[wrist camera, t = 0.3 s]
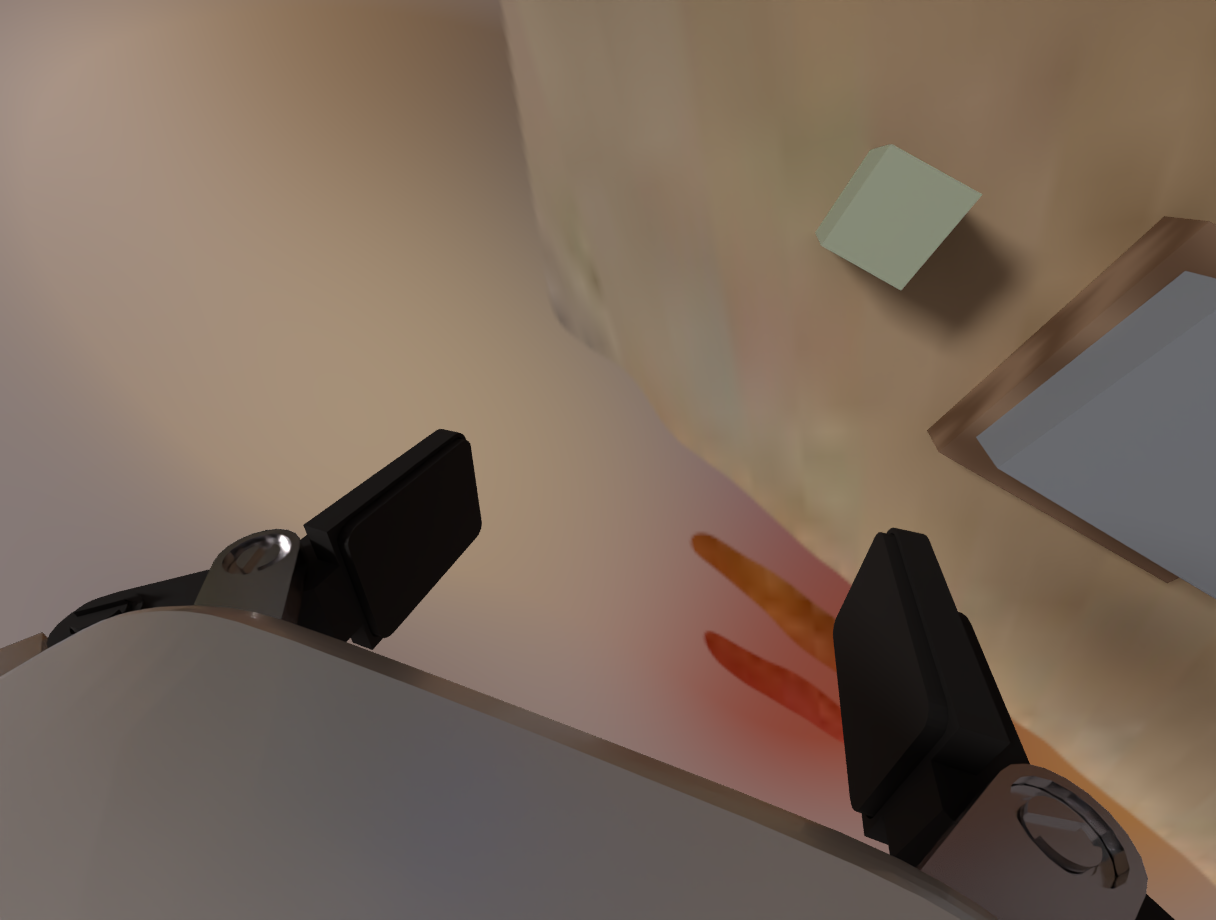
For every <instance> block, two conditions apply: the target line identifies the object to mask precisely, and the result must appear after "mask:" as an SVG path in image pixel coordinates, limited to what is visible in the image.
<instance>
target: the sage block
mask: <svg viewBox="0 0 1216 920" xmlns="http://www.w3.org/2000/svg"><path fill="white" fill-rule="evenodd" d="M981 196H982V194H981V193H979V192H977V191H975V190H973V189H972V188H970V187H968V186H966V185H964V184H963V183H961V182H959V181H957V180H955V179H954V178H952V177H950V176H948V175H946V174H945V173H943V172H941V171H939V170H937V169H936V168H934V167H932V166H930V165H928V164H927V163H925V162H923V161H921V160H919V159H918V158H916V157H914V156H912V155H910V154H909V153H907V152H905V151H903V150H901V149H900V148H898V147H896V146H894V145H892V144H889V145H885V146H882V147H879V148H875V149H872V150H870V151H869V153H868V154H867V156H866V157H865V159H864V160H863V162H862V163H861V165H860V166H859V168H858V169H857V171H856V172H855V174H854V175H853V177H852V178H851V180H850V181H849V183H848V184H847V186H846V187H845V189H844V190H843V192H842V193H841V195H840V196H839V198H838V199H837V201H836V202H835V204H834V205H833V207H832V208H831V210H830V211H829V213H828V214H827V216H826V217H825V219H824V220H823V222H822V223H821V225H820V226H819V228H818V229H817V231H816V232H815V233H816V235H817V237H818V240H819V242H820V244H821V246H823V247H825V248H826V249H828V250H830V251H832V252H833V253H835V254H837V255H839V256H841V257H842V258H844V259H846V260H848V261H849V262H851V263H853V264H855V265H856V266H858V267H860V268H862V269H864V270H865V271H867V272H869V273H871V274H872V275H874V276H876V277H878V278H879V279H881V280H883V281H885V282H887V283H888V284H890V285H892V286H894V287H895V288H897V289H899V290H902V289H903V288H904V287H905V285H906V284H907V283H908V282H909V281H910V279H911V278H912V277H913V276H914V275H915V274H916V272H917V271H918V270H919V269H920V268H921V266H922V265H923V264H924V263H925V262H926V261H927V259H928V258H929V257H930V256H931V255H932V253H933V252H934V251H935V250H936V249H937V248H938V246H939V245H940V244H941V243H942V242H943V240H944V239H945V238H946V237H947V236H948V235H949V233H950V232H951V231H952V230H953V229H954V228H955V226H956V225H957V224H958V223H959V222H960V220H961V219H962V218H963V217H964V216H965V215H966V213H967V212H968V211H969V210H970V209H971V207H972V206H973V205H974V204H975V203H976V202H977V200H978V199H979V198H980V197H981Z"/></svg>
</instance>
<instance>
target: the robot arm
mask: <svg viewBox="0 0 1216 920" xmlns="http://www.w3.org/2000/svg"><path fill="white" fill-rule="evenodd" d="M481 525H482V521H481V514H480V507H479V500H478V493H477V486H476V479H475V472H474V465H473V459H472V452H471V446H470V443H469V441H467V440H466V438H465V436H464V435H463V434H461V433H458V432H453V431H448V430H444V429H439V430H437V431H435V432H434V433H432V434H431V435H429V436H428V437H426V438H425V439H424V440H422V441H421V442H419V443H418V444H417V445H415V446H414V447H412V448H411V449H410V450H408V451H407V452H405V453H404V454H403V455H401V456H400V457H398V458H397V459H396V460H394V461H393V462H391V463H390V464H388V465H387V466H386V467H384V468H383V469H381V470H380V471H379V472H377V473H376V474H374V475H373V476H372V477H370V478H369V479H367V480H366V481H365V482H363V483H362V484H360V485H359V486H358V487H356V488H355V489H353V490H352V491H350V492H349V493H348V494H346V495H345V496H343V497H342V498H341V499H339V500H338V501H336V502H335V503H334V504H332V505H331V506H329V507H328V508H327V509H325V510H324V511H322V512H321V513H320V514H318V515H317V516H315V517H314V518H312V519H311V520H310V521H308V522H307V523H305V524H304V528H305V530H306V533H307V535H306V536H305V537H304V538H302V539H301V540H300V538H299V537H298V536H297V534H296V533H294V532H292V531H289V530H284V529H272V530H265V531H261V532H257V533H253V534H251V535H248V536H246V537H243V538H241V539H239V540H237V541H236V542H234V543H232V544H231V545H229V546H227V547H226V548H225V549H224V550H223V551H222V552H221V553H220V554H219V555H218V556H217V558H216V559H215V560H214V562H213V564H212V566H211V568H210V570H206V571H202V572H198V573H193V574H189V575H185V576H181V577H177V578H173V579H169V580H165V581H161V582H157V583H153V584H148V585H145V586H140V587H136V588H132V589H128V590H124V591H120V592H116V593H113V594H110V595H107V596H104V597H100V598H97V599H95V600H92V601H90V602H88V603H86V604H84V605H83V606H81V607H79V608H78V609H77V610H76V611H74V612H73V613H71V614H70V615H68V616H67V617H66V618H65V619H64V620H62V621H61V622H60V623H59V624H58V625H57V626H56V627H55V628H54V630H53V631H52V632H51V633H50V635H49V637H47V636H46V635H45V634H44V633H43V632H41V633H39V634H36V635H34V636H31V637H29V638H26V639H24V640H21V641H18V642H16V643H13V644H11V645H8V646H6V647H3V648H1V649H0V920H1174V919H1173V918H1172V917H1171V916H1170V915H1169V914H1168V913H1167V912H1166V911H1165V910H1163V909H1162V908H1161V907H1160V906H1159V905H1158V904H1157V903H1156V902H1155V901H1154V900H1153V899H1151V898H1150V897H1149V896H1148V895H1147V894H1146V889H1147V880H1148V878H1147V874H1146V871H1145V868H1144V865H1143V862H1142V858H1141V856H1140V854H1139V853H1138V851H1137V850H1136V848H1135V846H1134V844H1133V843H1132V841H1131V839H1130V838H1129V836H1128V834H1126V832H1125V831H1124V830H1123V828H1122V827H1121V826H1120V825H1119V824H1118V822H1117V821H1116V820H1115V819H1114V818H1113V817H1112V815H1111V814H1110V813H1109V812H1108V811H1107V810H1106V809H1104V807H1102V806H1101V805H1100V804H1099V803H1098V802H1097V801H1096V800H1095V799H1093V798H1092V797H1091V796H1090V795H1089V794H1088V793H1086V792H1085V791H1084V790H1082V789H1081V788H1079V787H1078V786H1076V785H1075V784H1073V783H1072V782H1071V781H1069V780H1068V779H1066V778H1064V777H1062V776H1060V775H1058V774H1056V773H1054V772H1052V771H1050V770H1047V769H1045V768H1042V767H1038V766H1034V765H1030V763H1029V761H1028V758H1027V756H1026V754H1025V751H1024V749H1023V746H1022V744H1021V742H1020V739H1019V737H1018V735H1017V732H1016V730H1015V727H1014V725H1013V723H1012V720H1011V718H1010V715H1009V713H1008V711H1007V708H1006V706H1005V704H1004V701H1003V699H1002V696H1001V694H1000V692H999V689H998V687H997V684H996V682H995V680H994V677H993V675H992V673H991V670H990V668H989V665H988V663H987V661H986V658H985V656H984V654H983V651H982V649H981V646H980V644H979V642H978V639H977V637H976V634H975V632H974V630H973V627H972V625H971V623H970V621H969V620H968V618H967V617H966V616H965V615H964V614H962V613H961V612H958V611H957V608H956V606H955V603H954V601H953V598H952V596H951V593H950V591H949V588H948V586H947V583H946V581H945V578H944V576H943V573H942V571H941V568H940V566H939V563H938V561H937V559H936V556H935V554H934V551H933V549H932V546H931V544H930V541H929V539H928V537H927V536H926V535H924V534H920V533H916V532H911V531H907V530H902V529H897V528H891V529H890V530H889V531H888V532H887V534H886V533H882V532H879V533H878V534H877V535H876V536H875V538H874V540H873V542H872V544H871V546H870V549H869V551H868V553H867V555H866V557H865V559H864V561H863V563H862V565H861V567H860V569H859V572H858V574H857V576H856V578H855V580H854V582H853V584H852V586H851V588H850V590H849V593H848V595H847V597H846V599H845V601H844V603H843V605H842V607H841V609H840V611H839V613H838V615H837V617H836V620H835V623H834V629H833V640H834V649H835V659H836V669H837V678H838V688H839V697H840V707H841V716H842V726H843V736H844V745H845V754H846V764H847V774H848V783H849V793H850V800H851V805H852V808H853V809H854V810H855V811H857V812H860V813H862V820H863V828H864V835H865V836H866V837H869V838H871V839H874V840H877V841H879V842H882V843H885V844H887V845H889V851H890V855H889V854H887V853H885V852H883V851H880V850H878V849H876V848H873V847H872V846H869V845H867V844H865V843H863V842H860V841H858V840H856V839H854V838H851V837H849V836H847V835H845V834H843V833H841V832H838V831H836V830H833V829H831V828H828V827H826V826H823V825H821V824H818V823H816V822H813V821H811V820H808V819H806V818H803V817H801V816H798V815H796V814H794V813H791V812H789V811H786V810H783V809H781V808H779V807H776V806H774V805H771V804H769V803H766V802H764V801H761V800H759V799H756V798H754V797H751V796H749V795H747V794H744V793H742V792H739V791H737V790H734V789H731V788H729V787H726V786H724V785H721V784H718V783H716V782H713V781H710V780H708V779H705V778H703V777H700V776H698V775H695V774H692V773H690V772H687V771H685V770H682V769H680V768H677V767H674V766H672V765H669V764H666V763H664V762H661V761H659V760H656V759H654V758H651V757H648V756H646V755H643V754H641V753H638V752H635V751H633V750H630V749H628V748H625V747H622V746H619V745H617V744H614V743H612V742H609V741H607V740H604V739H602V738H599V737H596V736H593V735H591V734H589V733H586V732H583V731H581V730H578V729H575V728H573V727H570V726H568V725H565V724H562V723H560V722H557V721H554V720H552V719H549V718H546V717H544V716H541V715H539V714H536V713H533V712H530V711H528V710H525V709H523V708H520V707H517V706H515V705H512V704H510V703H507V702H504V701H502V700H499V699H496V698H494V697H491V696H488V695H486V694H483V693H480V692H478V691H475V690H472V689H470V688H467V687H465V686H462V685H459V684H457V683H454V682H451V681H449V680H446V679H443V678H441V677H438V676H435V675H433V674H430V673H427V672H424V671H422V670H419V669H416V668H414V667H411V666H408V665H406V664H403V663H400V662H398V661H395V660H392V659H390V658H387V657H384V656H381V655H379V654H376V653H374V652H371V651H368V650H366V649H363V648H360V647H358V646H355V645H352V644H349V643H347V641H348V640H349V638H351V639H352V642H353V643H356V644H358V645H361V646H363V647H366V648H369V649H371V650H373V649H374V648H375V646H376V645H377V644H378V643H379V642H380V641H381V640H382V638H386V637H389V636H390V635H391V634H392V633H393V632H394V631H395V630H396V629H397V628H398V627H399V626H400V624H401V623H402V622H403V621H404V620H405V619H406V618H407V617H408V615H409V614H410V613H411V612H412V610H414V608H415V607H416V606H417V605H418V604H419V603H420V601H421V600H422V599H423V598H424V597H425V596H426V595H427V594H428V592H429V591H430V590H431V589H432V588H433V587H434V586H435V584H436V583H437V582H438V581H439V579H441V577H442V576H443V575H444V574H445V573H446V572H447V571H448V569H449V568H450V567H451V566H452V565H453V564H454V563H455V561H456V560H457V559H458V558H459V557H460V556H461V555H462V553H463V552H464V551H465V550H466V549H467V548H468V546H469V545H470V544H471V543H472V542H473V540H475V538H476V537H477V536H478V535H479V532H480V530H481Z"/></svg>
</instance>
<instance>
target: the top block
mask: <svg viewBox="0 0 1216 920" xmlns="http://www.w3.org/2000/svg"><path fill="white" fill-rule="evenodd" d="M976 438H977V440H978V441H979V442H980V444H981V445H982V447H983V448H984V450H985V451H986V453H987V454H988V455H989V457H990V458H991V460H992V461H993V463H994V464H995V466H996V467H997V468H998V469H1000V470H1001V471H1003V472H1005V473H1006V474H1008V475H1010V476H1011V477H1013V478H1015V479H1016V480H1018V481H1020V482H1021V483H1023V484H1025V485H1026V486H1028V487H1030V488H1031V489H1033V490H1035V491H1036V492H1038V493H1040V494H1041V495H1043V496H1045V497H1046V498H1048V499H1050V500H1051V501H1053V502H1055V503H1056V504H1058V505H1060V506H1061V507H1063V508H1065V509H1066V510H1068V511H1070V512H1071V513H1073V514H1075V515H1076V516H1078V517H1080V518H1081V519H1083V520H1085V521H1086V522H1088V523H1090V524H1091V525H1093V526H1095V527H1096V528H1098V529H1100V530H1101V531H1103V532H1105V533H1106V534H1108V535H1110V536H1111V537H1113V538H1115V539H1116V540H1118V541H1120V542H1121V543H1123V544H1125V545H1126V546H1128V547H1130V548H1131V549H1133V550H1135V551H1136V552H1138V553H1140V554H1141V555H1143V556H1145V557H1146V558H1148V559H1150V560H1151V561H1153V562H1155V563H1156V564H1158V565H1160V566H1161V567H1163V568H1165V569H1166V570H1168V571H1170V572H1171V573H1173V574H1175V575H1176V576H1178V577H1180V578H1181V579H1183V580H1185V581H1186V582H1188V583H1190V584H1191V585H1193V586H1195V587H1196V588H1198V589H1200V590H1201V591H1203V592H1205V593H1206V594H1208V595H1210V596H1211V597H1213V598H1215V599H1216V278H1212V277H1208V276H1204V275H1200V274H1196V273H1192V272H1188V271H1184V272H1183V273H1182V274H1181V275H1179V276H1178V277H1177V278H1176V279H1174V280H1173V281H1172V282H1171V283H1169V284H1168V285H1167V286H1166V287H1164V288H1163V289H1162V290H1161V291H1159V292H1158V293H1157V294H1156V295H1154V296H1153V297H1152V298H1150V299H1149V300H1148V301H1147V302H1145V303H1144V304H1143V305H1142V306H1140V307H1139V308H1138V309H1137V310H1135V311H1134V312H1133V313H1132V314H1130V315H1129V316H1128V317H1127V318H1125V319H1124V320H1123V321H1121V322H1120V323H1119V324H1118V325H1116V326H1115V327H1114V328H1113V329H1111V330H1110V331H1109V332H1108V333H1106V334H1105V335H1104V336H1103V337H1101V338H1100V339H1099V340H1098V341H1096V342H1095V343H1094V344H1093V345H1091V346H1090V347H1089V348H1087V349H1086V350H1085V351H1084V352H1082V353H1081V354H1080V355H1079V356H1077V357H1076V358H1075V359H1074V360H1072V361H1071V362H1070V363H1069V364H1067V365H1066V366H1065V367H1064V368H1062V369H1061V370H1060V371H1058V372H1057V373H1056V374H1055V375H1053V376H1052V377H1051V378H1050V379H1048V380H1047V381H1046V382H1045V383H1043V384H1042V385H1041V386H1040V387H1038V388H1037V389H1036V390H1035V391H1033V392H1032V393H1031V394H1030V395H1028V396H1027V397H1026V398H1025V399H1023V400H1022V401H1021V402H1020V403H1018V404H1017V405H1016V406H1015V407H1013V408H1012V409H1011V410H1010V411H1008V412H1007V413H1006V414H1005V415H1003V416H1002V417H1001V418H1000V419H998V420H997V421H996V422H995V423H993V424H992V425H991V426H990V427H988V428H987V429H986V430H985V431H983V432H982V433H981V434H980V435H978V436H977V437H976Z"/></svg>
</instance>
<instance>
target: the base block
mask: <svg viewBox="0 0 1216 920" xmlns="http://www.w3.org/2000/svg"><path fill="white" fill-rule="evenodd" d="M1184 271H1188V272H1192V273H1196V274H1200V275H1204V276H1208V277H1212V278H1216V225H1215V224H1213V223H1212V222H1210V221H1201V220H1192V219H1183V218H1174V217H1165V216H1164V217H1163V218H1162V219H1161V220H1160V221H1159V222H1158V223H1157V224H1156V225H1154V226H1153V227H1152V228H1151V229H1150V230H1149V231H1148V232H1147V233H1146V234H1144V235H1143V236H1142V237H1141V238H1140V239H1139V240H1138V241H1137V242H1136V243H1134V244H1133V245H1132V246H1131V247H1130V248H1129V249H1128V250H1127V251H1126V252H1125V253H1123V254H1122V255H1121V256H1120V257H1119V258H1118V259H1117V260H1116V261H1115V262H1113V263H1112V264H1111V265H1110V266H1109V267H1108V268H1107V269H1106V270H1105V271H1103V272H1102V273H1101V274H1100V275H1099V276H1098V277H1097V278H1096V279H1095V280H1093V281H1092V282H1091V283H1090V284H1089V285H1088V286H1087V287H1086V288H1085V289H1084V290H1082V291H1081V292H1080V293H1079V294H1078V295H1077V296H1076V297H1075V298H1074V299H1072V300H1071V301H1070V302H1069V303H1068V304H1067V305H1066V306H1065V307H1064V308H1062V309H1061V310H1060V311H1059V312H1058V313H1057V314H1056V315H1055V316H1054V317H1052V318H1051V319H1050V320H1049V321H1048V322H1047V323H1046V324H1045V325H1044V326H1042V327H1041V328H1040V329H1039V330H1038V331H1037V332H1036V333H1035V334H1034V335H1033V336H1031V337H1030V338H1029V339H1028V340H1027V341H1026V342H1025V343H1024V344H1023V345H1021V346H1020V347H1019V348H1018V349H1017V350H1016V351H1015V352H1014V353H1013V354H1011V355H1010V356H1009V357H1008V358H1007V359H1006V360H1005V361H1004V362H1003V363H1001V364H1000V365H999V366H998V367H997V368H996V369H995V370H994V371H993V372H991V373H990V374H989V375H988V376H987V377H986V378H985V379H984V380H983V381H982V382H980V383H979V384H978V385H977V386H976V387H975V388H974V389H973V390H972V391H970V392H969V393H968V394H967V395H966V396H965V397H964V398H963V399H962V400H960V401H959V402H958V403H957V404H956V405H955V406H954V407H953V408H952V409H950V410H949V411H948V412H947V413H946V414H945V415H944V416H943V417H942V418H940V419H939V420H938V421H937V422H936V423H935V424H934V425H933V426H932V427H931V428H929V429H928V430H927V431H928V433H929V435H930V437H931V438H932V440H933V442H934V444H935V446H936V448H937V450H938V451H939V452H940V453H941V454H943V455H945V456H947V457H948V458H950V459H952V460H954V461H955V462H957V463H959V464H961V465H962V466H964V467H966V468H968V469H969V470H971V471H973V472H975V473H976V474H978V475H980V476H982V477H983V478H985V479H987V480H989V481H990V482H992V483H994V484H996V485H997V486H999V487H1001V488H1002V489H1004V490H1006V491H1008V492H1009V493H1011V494H1013V495H1015V496H1016V497H1018V498H1020V499H1022V500H1023V501H1025V502H1027V503H1029V504H1030V505H1032V506H1034V507H1036V508H1037V509H1039V510H1041V511H1043V512H1044V513H1046V514H1048V515H1050V516H1051V517H1053V518H1055V519H1057V520H1058V521H1060V522H1062V523H1063V524H1065V525H1067V526H1069V527H1070V528H1072V529H1074V530H1076V531H1077V532H1079V533H1081V534H1083V535H1084V536H1086V537H1088V538H1090V539H1091V540H1093V541H1095V542H1097V543H1098V544H1100V545H1102V546H1104V547H1105V548H1107V549H1109V550H1111V551H1112V552H1114V553H1116V554H1118V555H1119V556H1121V557H1123V558H1124V559H1126V560H1128V561H1130V562H1131V563H1133V564H1135V565H1137V566H1138V567H1140V568H1142V569H1144V570H1145V571H1147V572H1149V573H1151V574H1152V575H1154V576H1156V577H1158V578H1159V579H1161V580H1163V581H1165V582H1166V583H1169V582H1171V581H1173V580H1175V579H1177V578H1179V577H1178V576H1176V575H1175V574H1173V573H1171V572H1170V571H1168V570H1166V569H1165V568H1163V567H1161V566H1160V565H1158V564H1156V563H1155V562H1153V561H1151V560H1150V559H1148V558H1146V557H1145V556H1143V555H1141V554H1140V553H1138V552H1136V551H1135V550H1133V549H1131V548H1130V547H1128V546H1126V545H1125V544H1123V543H1121V542H1120V541H1118V540H1116V539H1115V538H1113V537H1111V536H1110V535H1108V534H1106V533H1105V532H1103V531H1101V530H1100V529H1098V528H1096V527H1095V526H1093V525H1091V524H1090V523H1088V522H1086V521H1085V520H1083V519H1081V518H1080V517H1078V516H1076V515H1075V514H1073V513H1071V512H1070V511H1068V510H1066V509H1065V508H1063V507H1061V506H1060V505H1058V504H1056V503H1055V502H1053V501H1051V500H1050V499H1048V498H1046V497H1045V496H1043V495H1041V494H1040V493H1038V492H1036V491H1035V490H1033V489H1031V488H1030V487H1028V486H1026V485H1025V484H1023V483H1021V482H1020V481H1018V480H1016V479H1015V478H1013V477H1011V476H1010V475H1008V474H1006V473H1005V472H1003V471H1001V470H1000V469H998V468H997V467H996V466H995V464H994V463H993V461H992V460H991V458H990V457H989V455H988V454H987V453H986V451H985V450H984V448H983V447H982V445H981V444H980V442H979V441H978V440H977V438H976V437H977V436H978V435H980V434H981V433H982V432H983V431H985V430H986V429H987V428H988V427H990V426H991V425H992V424H993V423H995V422H996V421H997V420H998V419H1000V418H1001V417H1002V416H1003V415H1005V414H1006V413H1007V412H1008V411H1010V410H1011V409H1012V408H1013V407H1015V406H1016V405H1017V404H1018V403H1020V402H1021V401H1022V400H1023V399H1025V398H1026V397H1027V396H1028V395H1030V394H1031V393H1032V392H1033V391H1035V390H1036V389H1037V388H1038V387H1040V386H1041V385H1042V384H1043V383H1045V382H1046V381H1047V380H1048V379H1050V378H1051V377H1052V376H1053V375H1055V374H1056V373H1057V372H1058V371H1060V370H1061V369H1062V368H1064V367H1065V366H1066V365H1067V364H1069V363H1070V362H1071V361H1072V360H1074V359H1075V358H1076V357H1077V356H1079V355H1080V354H1081V353H1082V352H1084V351H1085V350H1086V349H1087V348H1089V347H1090V346H1091V345H1093V344H1094V343H1095V342H1096V341H1098V340H1099V339H1100V338H1101V337H1103V336H1104V335H1105V334H1106V333H1108V332H1109V331H1110V330H1111V329H1113V328H1114V327H1115V326H1116V325H1118V324H1119V323H1120V322H1121V321H1123V320H1124V319H1125V318H1127V317H1128V316H1129V315H1130V314H1132V313H1133V312H1134V311H1135V310H1137V309H1138V308H1139V307H1140V306H1142V305H1143V304H1144V303H1145V302H1147V301H1148V300H1149V299H1150V298H1152V297H1153V296H1154V295H1156V294H1157V293H1158V292H1159V291H1161V290H1162V289H1163V288H1164V287H1166V286H1167V285H1168V284H1169V283H1171V282H1172V281H1173V280H1174V279H1176V278H1177V277H1178V276H1179V275H1181V274H1182V273H1183V272H1184Z"/></svg>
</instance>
